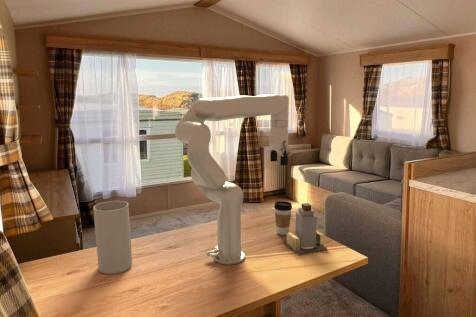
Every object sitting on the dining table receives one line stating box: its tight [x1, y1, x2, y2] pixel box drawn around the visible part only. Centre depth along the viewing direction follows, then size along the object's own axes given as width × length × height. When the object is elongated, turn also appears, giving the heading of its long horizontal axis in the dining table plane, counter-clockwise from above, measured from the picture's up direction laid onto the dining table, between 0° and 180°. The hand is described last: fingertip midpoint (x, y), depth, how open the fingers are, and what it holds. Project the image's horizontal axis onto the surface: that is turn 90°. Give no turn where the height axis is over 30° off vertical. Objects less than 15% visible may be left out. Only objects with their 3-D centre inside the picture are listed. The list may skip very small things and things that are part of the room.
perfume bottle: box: [294, 202, 318, 248], centre depth 155 cm, size 7×7×18 cm
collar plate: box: [283, 229, 328, 256], centre depth 156 cm, size 14×13×6 cm
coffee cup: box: [274, 200, 293, 236], centre depth 171 cm, size 8×8×15 cm
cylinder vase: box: [92, 200, 133, 275], centre depth 137 cm, size 12×12×25 cm
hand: (278, 163), depth 156 cm, fingers open, 9 cm apart
